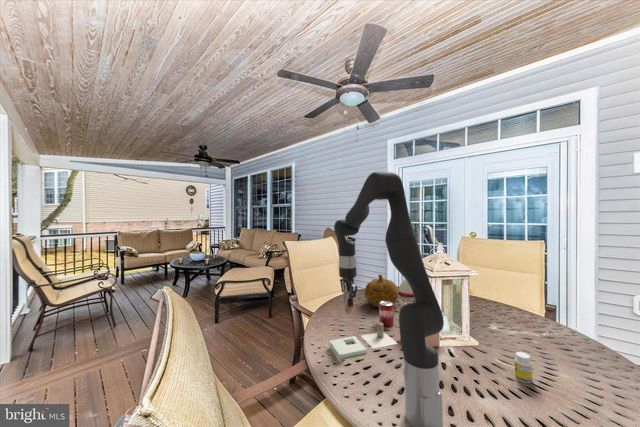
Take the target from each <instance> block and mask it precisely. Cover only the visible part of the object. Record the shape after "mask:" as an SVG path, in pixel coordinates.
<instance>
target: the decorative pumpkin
mask: <svg viewBox="0 0 640 427" xmlns="http://www.w3.org/2000/svg"><path fill="white" fill-rule="evenodd" d="M377 277H378V279H377V278H376V279H375V278H373V279H372V281H369V282H368V283H367V284H366V286H365V289H364V296H365V298H366V301H367V302H368V304H370V305H371V306H372V307H374V308H377V307H378V308H379V303H380V302H381V301H389V302H392V303H393V306H394V305H395V304H396V302H397V300H398V298H399V289H398V286H397V285H396V283H395V282H394V281H392V280H391V279H386V278H384V277H383V274H378V276H377Z"/></svg>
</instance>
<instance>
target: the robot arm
mask: <svg viewBox="0 0 640 427" xmlns="http://www.w3.org/2000/svg"><path fill="white" fill-rule="evenodd" d="M375 200H377V201H378V200H379V201H380V200H382V201H383V200H386V201H388V205H389V210H390V218H389V222H388V226H387V229H386V234H385V240H384V241H385V245H386V248H387V251H388V252H387V253H388V256H389V259H390V261H391V263H392V264H393V266H394V267H395V268H396V270H397V271H398V272H399V273H400V274H401V275H402V277H403V279H406V280H407V281H408V283H409V285H410V287H411V289H412V291H413V294H414V296H413V298H414V301H415V302H412V303H408V304H404V305H402V307H401V308H400V309H399V314H398V324H399V326H398V327H399V335H400V336H399V337H400V346H401V349H402V352H403V374H404V375H403V376H404V404H405V405H404V406H405V407H404V408H405V419H406V422H407V423H408V424H409V425H410V426H411V427H444V424H443V420H444V419H443V395H442V393H441V392H440V372H439V370H440V369H439V368H440V367H439V353H438V351H437V349H436V348H435V347H432V346H430V345H428V344H426V343H425V337H427V336H431V335H434V334H437V333H439V334H440V333H441V332H442V331H443V328H444V324H445V322H444V321H445V320H444V316H443V312H442V309H441V306H440V305H439V304H440V303H439V301H438V299H437V296H436V294H435V291H434V290H433V287H432V284H431V282H430V280H429V279H430V278H429V276H428V273H427V270H426V266H425V264H424V260H423V258H422V255H421V254H422V253H421V251H420V247H419V243H418V239H417V237H416V233H415V231H414V227H413V224H412V220H411V216H410V212H409V209H408V203H407V199H406V193H405V188H404V184H403V180H402V178H401V176H400V175H399V174H398V173H397V172H393V171H374V172H372V173H370V174H369V175H368V176H367V178H366V180H365V181H364V183H363V185H362V187H361V189H360V191H359V193H358V196H357V198H356V199H355V202H354V204H353V205H352V207H350V209H349V211H348V212H347V213H346V215H345V219H338V220H336V221H335V223H334V226H333V230H334V233H335V237H336V240H337V244H338V271H339V272H338V274H339V278H340V279H339V281H340V288H341V289H340V290H341V292H342V294H343V296H344V298H343V299H344V301H343V302H344V304H345V288H346V293H347V297H348V307H352V308H353V307H354V299H355V298H356V297H357V292H358V291H357V290H358V286H357V285H355V282H354V278H356V277H357V258H356V244H355V242H354V241H352V240H347V238H346V237H349V236H355V235H357V234H358V233H359V230H360V228H361V226H362V224H363V223H364V222H365V221H366V219H368V216H369V214H370V204H371V203H372V202H374V201H375ZM348 290H350V291H348ZM349 293H350V294H349Z"/></svg>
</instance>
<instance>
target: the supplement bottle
mask: <svg viewBox="0 0 640 427" xmlns="http://www.w3.org/2000/svg"><path fill="white" fill-rule="evenodd" d="M514 377H515V379H517V380H518V381H519V382H522V383H525V384H531V383H532V382H533V363H532V362H531V356H530V355H529V354H528V353H525V352H522V351H517V352H515V358H514Z"/></svg>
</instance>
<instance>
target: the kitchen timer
mask: <svg viewBox="0 0 640 427" xmlns="http://www.w3.org/2000/svg"><path fill="white" fill-rule="evenodd" d="M398 292H399V294H400V295H402V296H405V297H414V294H413V291H412V289H411V287H410V285H409V283H408V281H407V280H406V279H405V278H403V280H402V281H401V282H400V284H399V289H398Z"/></svg>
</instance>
